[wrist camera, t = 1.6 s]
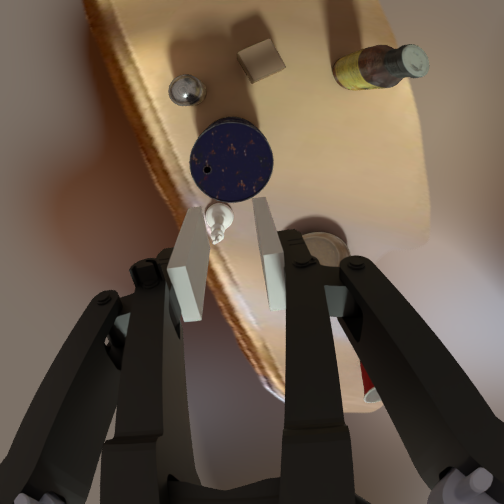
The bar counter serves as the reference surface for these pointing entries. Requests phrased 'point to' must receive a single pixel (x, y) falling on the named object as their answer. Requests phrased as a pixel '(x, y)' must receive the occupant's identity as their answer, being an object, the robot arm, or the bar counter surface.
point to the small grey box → (260, 60)
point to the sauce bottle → (380, 67)
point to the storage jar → (231, 160)
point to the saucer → (326, 248)
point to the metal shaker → (187, 90)
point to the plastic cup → (369, 388)
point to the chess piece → (218, 220)
